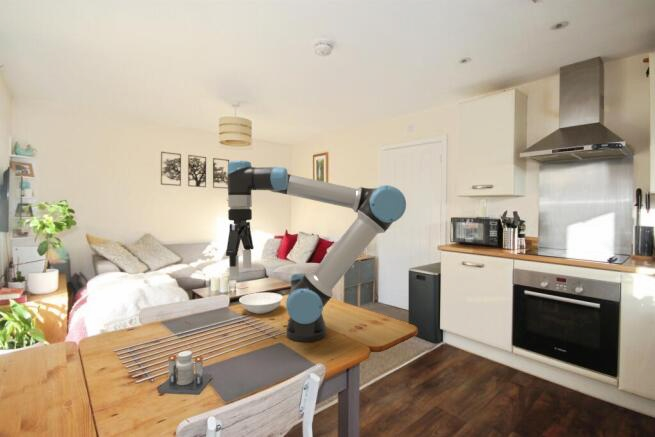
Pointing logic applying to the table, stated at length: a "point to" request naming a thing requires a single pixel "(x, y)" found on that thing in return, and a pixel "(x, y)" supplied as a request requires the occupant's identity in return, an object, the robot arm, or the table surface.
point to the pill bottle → (185, 368)
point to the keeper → (191, 388)
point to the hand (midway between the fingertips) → (241, 272)
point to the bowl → (261, 302)
